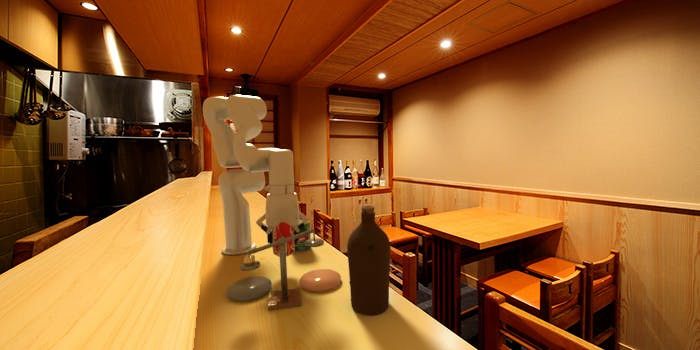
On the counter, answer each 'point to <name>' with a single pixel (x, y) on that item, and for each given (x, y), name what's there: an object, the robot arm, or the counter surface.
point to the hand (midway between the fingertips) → (283, 243)
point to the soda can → (284, 231)
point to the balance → (285, 295)
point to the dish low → (249, 289)
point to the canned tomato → (303, 238)
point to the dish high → (320, 280)
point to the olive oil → (369, 265)
